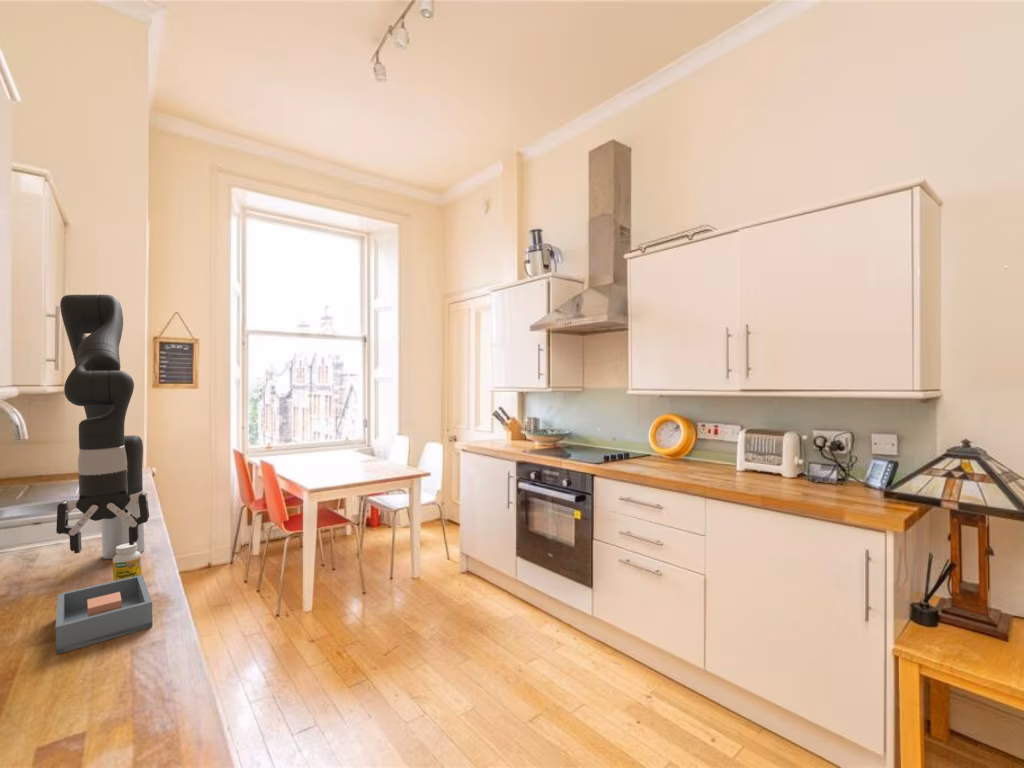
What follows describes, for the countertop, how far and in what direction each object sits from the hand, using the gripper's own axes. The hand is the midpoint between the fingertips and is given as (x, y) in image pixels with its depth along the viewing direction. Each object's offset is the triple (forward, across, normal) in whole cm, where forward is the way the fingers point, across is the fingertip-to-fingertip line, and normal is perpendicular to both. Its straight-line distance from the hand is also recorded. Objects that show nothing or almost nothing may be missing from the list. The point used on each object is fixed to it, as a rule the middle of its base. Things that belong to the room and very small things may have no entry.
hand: (105, 547), depth 98 cm
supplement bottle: (+16, +1, +19) cm, 25 cm away
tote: (+15, 0, 0) cm, 15 cm away
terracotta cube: (+14, 0, -4) cm, 15 cm away
